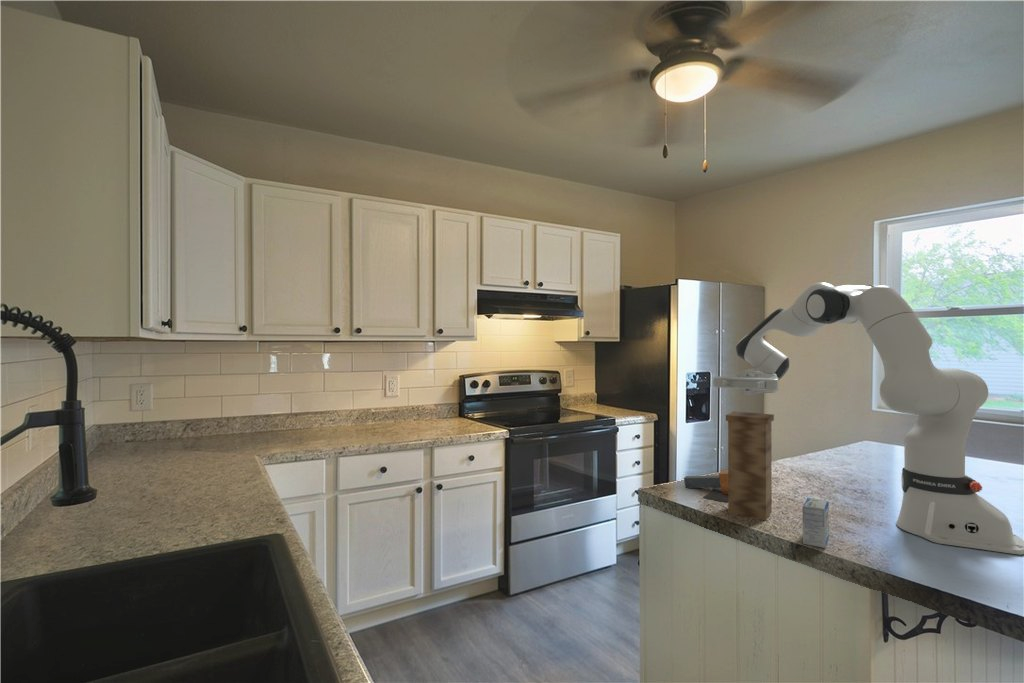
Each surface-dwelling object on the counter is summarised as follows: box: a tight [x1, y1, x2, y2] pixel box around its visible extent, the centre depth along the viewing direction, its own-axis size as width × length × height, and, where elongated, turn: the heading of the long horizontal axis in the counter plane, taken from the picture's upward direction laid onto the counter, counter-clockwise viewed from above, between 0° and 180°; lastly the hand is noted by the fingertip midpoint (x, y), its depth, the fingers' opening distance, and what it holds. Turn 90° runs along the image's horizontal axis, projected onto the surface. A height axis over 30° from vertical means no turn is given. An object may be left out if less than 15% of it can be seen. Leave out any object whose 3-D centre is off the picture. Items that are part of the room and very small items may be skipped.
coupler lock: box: [683, 469, 728, 494], centre depth 149 cm, size 6×17×5 cm
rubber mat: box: [703, 488, 728, 503], centre depth 146 cm, size 9×16×1 cm, turn 143°
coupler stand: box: [725, 411, 775, 521], centre depth 130 cm, size 10×9×26 cm
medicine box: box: [801, 497, 830, 549], centre depth 111 cm, size 8×4×9 cm, turn 143°
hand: (740, 384), depth 161 cm, fingers open, 8 cm apart
